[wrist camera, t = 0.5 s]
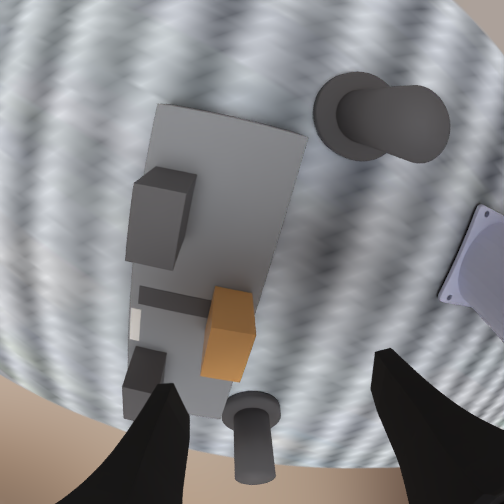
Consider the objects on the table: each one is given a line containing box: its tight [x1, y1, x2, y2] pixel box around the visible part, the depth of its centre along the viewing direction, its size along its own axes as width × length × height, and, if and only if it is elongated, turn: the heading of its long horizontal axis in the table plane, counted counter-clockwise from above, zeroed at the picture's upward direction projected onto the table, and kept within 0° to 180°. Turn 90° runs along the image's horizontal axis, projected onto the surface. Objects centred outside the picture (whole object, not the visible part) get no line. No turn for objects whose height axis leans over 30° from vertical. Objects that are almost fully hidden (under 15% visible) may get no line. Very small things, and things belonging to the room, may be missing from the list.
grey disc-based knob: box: [313, 72, 450, 163], centre depth 13 cm, size 5×5×7 cm
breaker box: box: [122, 104, 308, 421], centre depth 17 cm, size 7×20×6 cm, turn 166°
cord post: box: [222, 391, 281, 485], centre depth 23 cm, size 5×5×7 cm
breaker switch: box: [200, 286, 256, 382], centre depth 16 cm, size 2×3×4 cm, turn 166°
